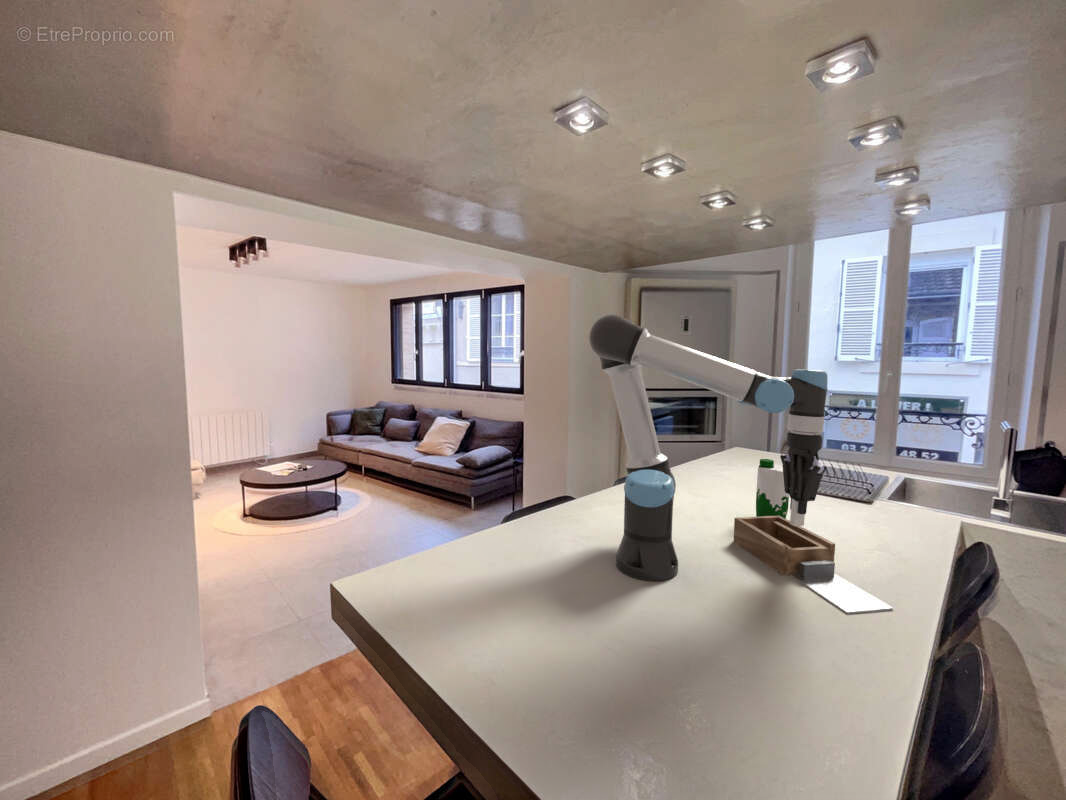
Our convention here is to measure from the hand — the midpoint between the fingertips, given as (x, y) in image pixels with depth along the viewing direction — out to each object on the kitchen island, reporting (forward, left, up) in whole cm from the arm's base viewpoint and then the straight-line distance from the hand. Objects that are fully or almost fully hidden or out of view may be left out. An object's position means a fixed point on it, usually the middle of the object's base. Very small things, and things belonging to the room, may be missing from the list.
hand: (796, 524), depth 112 cm
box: (+1, +6, -11) cm, 12 cm away
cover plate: (+1, -13, -11) cm, 17 cm away
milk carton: (+15, +29, -11) cm, 34 cm away
